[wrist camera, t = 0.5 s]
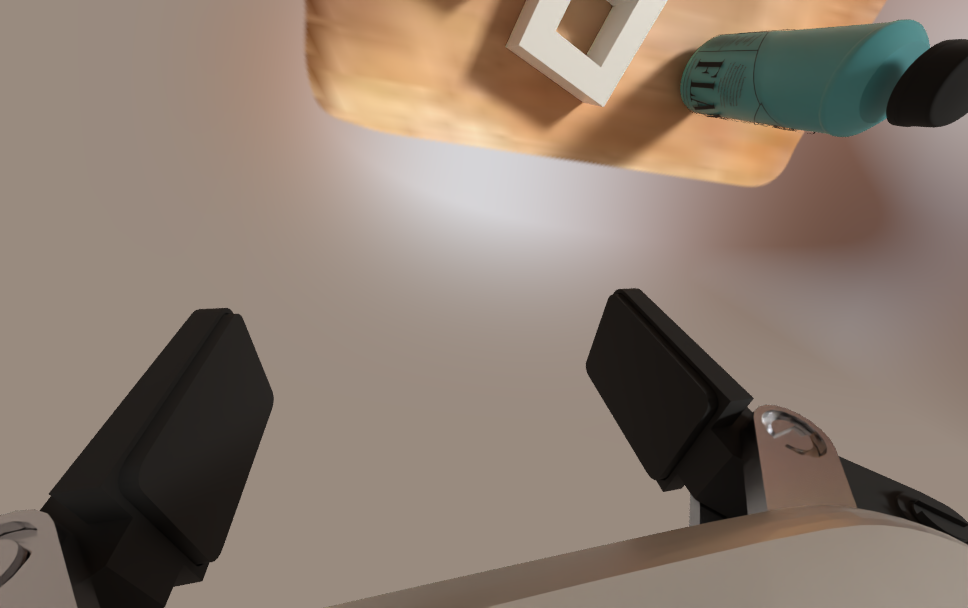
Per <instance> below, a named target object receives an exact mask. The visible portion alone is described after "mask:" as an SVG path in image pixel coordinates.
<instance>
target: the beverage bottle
mask: <svg viewBox="0 0 968 608" xmlns="http://www.w3.org/2000/svg"><path fill="white" fill-rule="evenodd" d="M786 30H789V29H786ZM680 92H681V98H682V100H683V102H684V104H685V105H686V106H687V108H689V109H690V110H692V111H693V112H695V113H696V114H697V113H699V114H700V113H701V114H704V115H705V114H707V115H710V116H707V117H715V118H718V117H721V118H720V119H725V117H726V119H727V118H732V119H738V120H744V121H746V122H747V121H750V122H751V123H752V122H754V124H755V122H756V123H758V124H759V123H762V125H763V124H768V125H767V126H770V125H773V127H774V128H777V127H778V126H779V127H780V128H781V127H783V130H786V129H787V128H789V129H788V130H789V131H795V130H794V129H797V130H804V131H813V132H814V133H815V132H820V133H826V134H830V135H832V136H837V137H849V136H853V135H856V134H859V133H861V132H863V131H865V130H867V129H869V128H871V127H873V126H875V125H876V124H878V123H880V122H881V121H883V120H885V119H886V118H887V120H888V122H889V123H890V124H892V125H896V126H904V127H911V126H920V127H941V126H945V125H948V124H950V123H952V122H955V121H956V120H958V119H960V118H961V117H963V116H964V115H965V114H966V113H968V40H966V39H958V40H957V39H956V40H946V41H943V42H940V43H938V44H936V45H934V46H933V47H931V48H930V44H929V39H928V36H927V33H926V31H925V29H924V27H923V26H922V25H921V24H920V23H919V22H916V21H914V20H897V21H893V22H888V23H877V24H864V25H852V26H840V27H828V28H816V29H804V30H794V29H792V30H791V31H777V30H774V31H770V32H764V31H761V32H754V33H752V32H749V33H738V34H725V35H720V36H718V35H717V37H715V38H714V37H713V39H710V40H709V41H707V42H706V43H704V44H703V45H702V46H701V47H699V48H698V49H697V50H696V52H695V53H694V54H693V55H692V57H691V58H690V60H689V61H688V63H687V65H686V67H685V69H684V72H683V75H682V79H681V85H680ZM693 112H692V113H693ZM695 113H694V114H695ZM712 115H714V116H712ZM722 117H724V118H722ZM726 119H725V120H726ZM732 119H731V120H732ZM735 121H736V120H735ZM736 122H737V121H736ZM747 123H748V122H747ZM758 124H757V125H758ZM755 125H756V124H755ZM763 126H764V125H763ZM767 126H765V127H767ZM773 127H772V128H773ZM779 127H778V128H779ZM785 127H786V129H785ZM780 128H779V129H780ZM791 128H792V130H790V129H791ZM781 129H782V128H781ZM797 130H796V131H797ZM796 131H795V132H796Z"/></svg>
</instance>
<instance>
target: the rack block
mask: <svg viewBox="0 0 968 608" xmlns="http://www.w3.org/2000/svg"><path fill="white" fill-rule="evenodd" d="M570 1H571V0H526V2H525V4H524V6H523V8H522V11H521V13H520V15H519V17H518V20H517V22H516V24H515V26H514V28H513V31H512V33H511V35H510V37H509V40H508V42H507V44H506V46H505V47H506V48H508V49H509V50H511V51H512V52H513V53H515V54H516V55H518V56H519V57H520V58H522V59H523V60H525V61H526V62H527V63H529V64H530V65H532V66H533V67H534V68H536V69H537V70H539V71H540V72H541V73H543V74H544V75H546V76H547V77H548V78H550V79H551V80H553V81H554V82H555V83H557V84H558V85H560V86H561V87H562V88H564V89H565V90H567V91H568V92H569V93H571V94H572V95H574V96H575V97H576V98H578V99H579V100H580V101H582V102H583V103H588V104H592V105H597V106H601V107H604V106H605V104H606V102H607V101H608V99H609V97H610V96H611V94H612V92H613V91H614V89H615V87H616V86H617V84H618V82H619V81H620V79H621V77H622V76H623V74H624V72H625V70H626V69H627V67H628V65H629V64H630V62H631V60H632V59H633V57H634V55H635V54H636V52H637V50H638V49H639V47H640V45H641V44H642V42H643V40H644V39H645V37H646V35H647V34H648V32H649V30H650V29H651V27H652V25H653V24H654V22H655V20H656V19H657V17H658V15H659V14H660V12H661V10H662V9H663V7H664V5H665V4H666V2H667V0H607V1H608V2H609V3H610V4H611V5H612V6H613V7H612V9H611V10H610V12H609V14H608V16H607V18H606V20H605V21H604V23H603V25H602V27H601V29H600V31H599V33H598V34H597V36H596V38H595V40H594V42H593V44H592V45H591V47H590V49H589V51H588V53H587V55H585V54H584V53H582V52H581V51H580V50H579V49H577V48H576V47H575V46H574V45H572V44H571V43H570V42H569V41H567V40H566V39H565V38H564V37H562V36H561V35H560V34H559V33H557V32H556V29H557V27H558V25H559V23H560V21H561V19H562V17H563V15H564V13H565V11H566V9H567V7H568V5H569V3H570Z"/></svg>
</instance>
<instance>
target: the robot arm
mask: <svg viewBox="0 0 968 608" xmlns="http://www.w3.org/2000/svg"><path fill="white" fill-rule="evenodd" d="M586 370H587V373H588V375H589V377H590V379H591V380H592V382H593V383H594V385H595V387H596V389H597V390H598V392H599V394H600V395H601V397H602V399H603V400H604V402H605V404H606V405H607V407H608V409H609V410H610V412H611V414H612V415H613V417H614V419H615V420H616V422H617V424H618V425H619V427H620V429H621V430H622V432H623V433H624V435H625V437H626V439H627V440H628V442H629V444H630V445H631V447H632V449H633V450H634V452H635V453H636V455H637V457H638V459H639V460H640V462H641V463H642V465H643V467H644V469H645V470H646V472H647V473H648V475H649V476H650V477H651V478H652V479H654V480H656V481H657V482H658V484H659V486H660V487H661V489H662V491H663V492H665V491H671V490H675V489H681V488H682V487H683V486H684V485H685V486H686V487H687V489H688V490H689V492H690V520H689V527H685V528H681V529H676V530H671V531H667V532H662V533H658V534H653V535H648V536H644V537H639V538H635V539H630V540H626V541H621V542H616V543H611V544H607V545H602V546H598V547H593V548H589V549H584V550H580V551H575V552H571V553H566V554H561V555H558V556H553V557H548V558H544V559H539V560H534V561H530V562H525V563H521V564H517V565H512V566H507V567H503V568H499V569H494V570H489V571H485V572H481V573H476V574H471V575H467V576H463V577H458V578H454V579H449V580H444V581H440V582H435V583H431V584H426V585H422V586H418V587H414V588H409V589H405V590H400V591H396V592H392V593H387V594H382V595H378V596H374V597H369V598H365V599H360V600H356V601H351V602H347V603H343V604H339V605H334V606H329V607H325V608H968V522H967V521H966V520H965V519H964V518H963V517H962V516H960V515H959V514H958V513H957V512H955V511H954V510H953V509H951V508H950V507H948V506H946V505H945V504H943V503H941V502H939V501H937V500H935V499H933V498H931V497H929V496H927V495H925V494H923V493H921V492H919V491H917V490H915V489H912V488H910V487H908V486H905V485H903V484H901V483H899V482H896V481H894V480H892V479H890V478H887V477H885V476H883V475H880V474H878V473H876V472H873V471H871V470H869V469H867V468H864V467H862V466H860V465H858V464H855V463H853V462H851V461H848V460H846V459H844V458H841V457H839V456H838V454H837V451H836V448H835V447H834V445H833V443H832V441H831V440H830V438H829V437H828V436H827V435H826V434H825V433H824V432H823V431H822V430H821V429H820V428H819V427H817V426H816V425H815V424H814V423H813V422H811V421H810V420H808V419H806V418H805V417H803V416H801V415H800V414H798V413H796V412H794V411H791V410H789V409H787V408H783V407H780V406H776V405H763V406H759V407H758V408H757V409H755V411H754V412H751V411H750V409H748V407H747V406H748V405H749V404H750V402H751V401H752V400H753V397H752V396H751V395H750V394H749V393H747V391H746V390H745V389H743V388H742V387H741V386H740V385H739V384H738V383H737V382H736V381H735V380H734V379H733V378H732V377H731V376H730V375H729V374H728V373H727V372H726V371H725V370H724V369H723V368H722V367H721V366H719V365H718V364H717V363H716V362H715V361H714V360H713V359H712V358H711V357H710V356H709V355H708V354H707V353H706V352H705V351H704V350H703V349H702V348H701V347H700V346H699V345H698V344H696V343H695V342H694V341H693V340H692V339H691V338H690V337H689V336H688V335H687V334H686V333H685V332H684V331H683V330H682V329H681V328H680V327H679V326H678V325H676V323H675V322H674V321H673V320H671V319H670V318H669V317H668V316H667V315H666V314H665V313H664V312H663V311H662V310H661V309H660V308H659V307H658V306H657V305H656V304H655V303H654V302H653V301H651V299H649V298H648V297H647V296H646V295H645V294H644V293H643V292H642V291H641V290H640V289H635V288H633V289H618V290H616V291H615V292H614V294H613V295H611V296H610V297H609V298H608V301H607V304H606V307H605V309H604V312H603V315H602V318H601V321H600V324H599V327H598V330H597V333H596V336H595V339H594V341H593V344H592V347H591V350H590V353H589V356H588V359H587V362H586ZM273 400H274V397H273V392H272V390H271V387H270V384H269V382H268V379H267V377H266V375H265V372H264V370H263V367H262V365H261V362H260V360H259V358H258V355H257V352H256V350H255V347H254V345H253V343H252V340H251V338H250V335H249V333H248V330H247V328H246V325H245V323H244V320H243V318H242V316H241V315H239V314H233V312H232V311H231V310H230V309H228V308H219V309H217V308H216V309H199V310H196V311H194V312H193V313H192V314H191V316H190V317H189V318H188V320H187V321H186V322H185V323H184V324H183V326H182V327H181V328H180V329H179V331H178V332H177V333H176V335H175V336H174V337H173V338H172V339H171V341H170V342H169V343H168V345H167V346H166V347H165V348H164V350H163V351H162V352H161V353H160V355H159V356H158V357H157V358H156V360H155V361H154V362H153V363H152V365H151V366H150V367H149V368H148V370H147V371H146V372H145V373H144V375H143V376H142V377H141V378H140V380H139V381H138V382H137V384H136V385H135V386H134V387H133V389H132V390H131V391H130V392H129V394H128V395H127V396H126V397H125V399H124V400H123V401H122V402H121V404H120V405H119V406H118V407H117V409H116V410H115V411H114V412H113V414H112V415H111V416H110V417H109V419H108V420H107V421H106V422H105V424H104V425H103V426H102V428H101V429H100V430H99V431H98V433H97V434H96V435H95V436H94V438H93V439H92V440H91V441H90V443H89V444H88V445H87V446H86V448H85V449H84V450H83V451H82V453H81V454H80V455H79V456H78V458H77V459H76V460H75V461H74V463H73V464H72V465H71V466H70V468H69V469H68V470H67V472H66V473H65V474H64V475H63V477H62V478H61V479H60V480H59V482H58V483H57V484H56V485H55V487H54V488H53V489H52V490H51V492H50V493H49V495H51V497H50V498H49V499H48V501H47V502H46V503H45V505H44V506H43V507H42V508H41V510H40V511H38V510H21V511H14V512H10V513H7V514H3V515H0V608H164V607H165V605H166V602H167V600H168V598H169V596H170V593H171V591H172V589H173V587H175V586H180V585H185V584H190V583H195V582H200V581H203V578H204V575H205V573H206V570H207V567H208V565H209V562H213V561H215V560H216V559H217V558H218V556H219V555H220V553H221V551H222V548H223V546H224V543H225V540H226V537H227V534H228V532H229V529H230V526H231V523H232V520H233V517H234V515H235V512H236V509H237V506H238V503H239V500H240V498H241V495H242V492H243V489H244V486H245V484H246V481H247V478H248V475H249V472H250V469H251V467H252V464H253V461H254V458H255V455H256V452H257V450H258V447H259V444H260V441H261V438H262V436H263V433H264V430H265V427H266V424H267V421H268V418H269V416H270V413H271V410H272V407H273Z"/></svg>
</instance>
